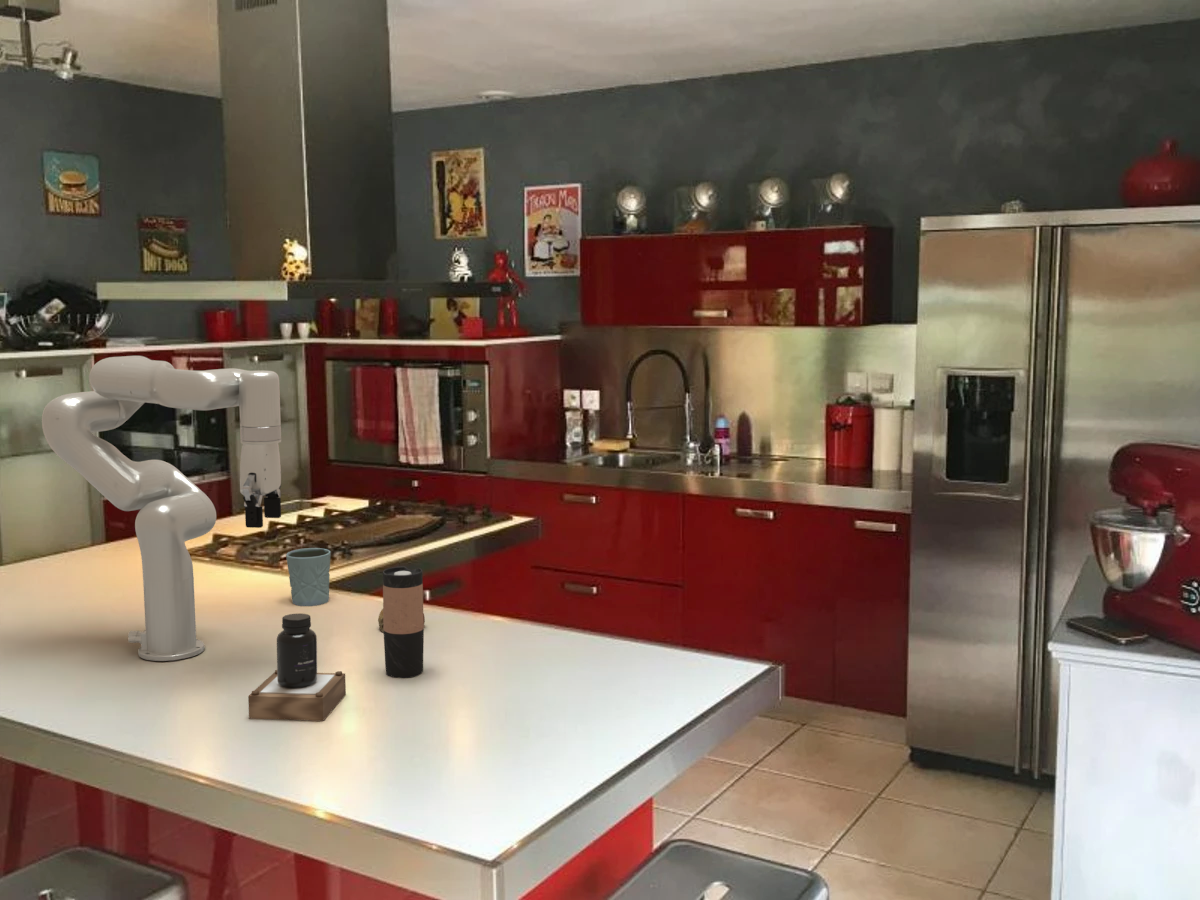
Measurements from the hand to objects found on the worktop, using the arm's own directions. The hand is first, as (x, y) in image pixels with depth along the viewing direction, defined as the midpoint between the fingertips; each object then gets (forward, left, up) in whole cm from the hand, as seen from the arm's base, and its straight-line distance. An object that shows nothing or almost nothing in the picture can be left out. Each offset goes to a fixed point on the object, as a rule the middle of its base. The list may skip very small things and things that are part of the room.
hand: (263, 522), depth 221 cm
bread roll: (+20, +26, -29) cm, 44 cm away
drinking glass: (-7, +46, -28) cm, 55 cm away
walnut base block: (+14, -23, -28) cm, 39 cm away
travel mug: (+28, -3, -28) cm, 40 cm away
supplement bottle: (+14, -23, -24) cm, 36 cm away
